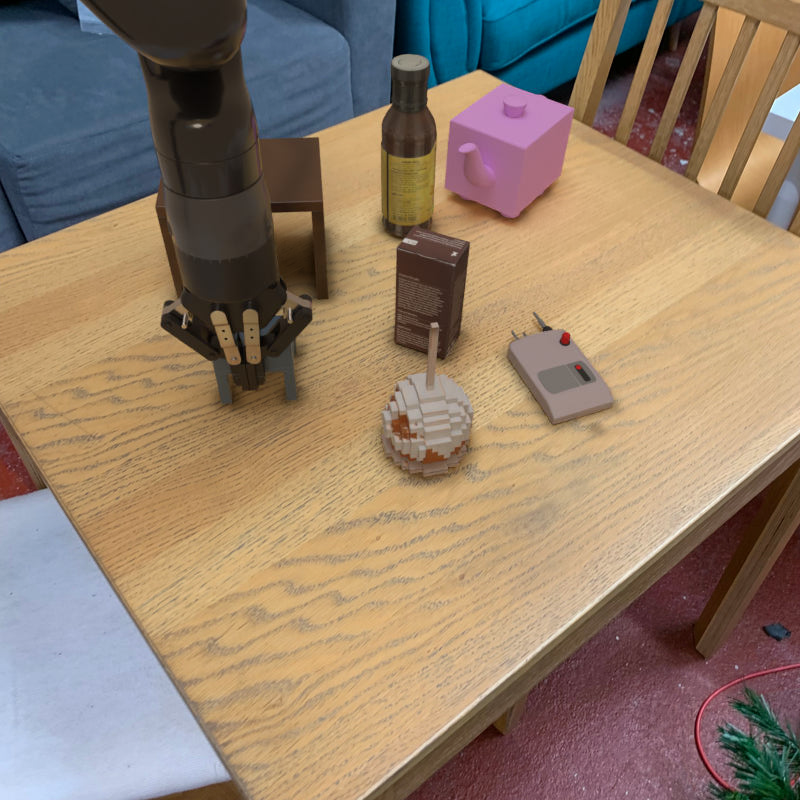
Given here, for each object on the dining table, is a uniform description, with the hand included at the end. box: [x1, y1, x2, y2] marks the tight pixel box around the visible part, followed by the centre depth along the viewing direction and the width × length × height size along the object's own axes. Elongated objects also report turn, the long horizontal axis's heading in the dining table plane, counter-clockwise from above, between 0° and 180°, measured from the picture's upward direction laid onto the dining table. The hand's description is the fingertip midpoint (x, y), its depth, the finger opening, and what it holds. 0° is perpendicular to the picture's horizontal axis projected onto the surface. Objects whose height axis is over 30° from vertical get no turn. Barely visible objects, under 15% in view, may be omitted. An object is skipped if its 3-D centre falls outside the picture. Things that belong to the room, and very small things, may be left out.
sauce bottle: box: [380, 53, 438, 239], centre depth 86 cm, size 6×6×20 cm
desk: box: [154, 136, 329, 300], centre depth 82 cm, size 16×12×12 cm
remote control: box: [506, 311, 615, 431], centre depth 76 cm, size 7×16×3 cm, turn 22°
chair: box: [211, 314, 298, 405], centre depth 73 cm, size 7×7×8 cm
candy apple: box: [380, 322, 475, 478], centre depth 65 cm, size 8×8×15 cm
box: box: [393, 226, 471, 360], centre depth 75 cm, size 6×4×12 cm
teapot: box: [443, 82, 576, 219], centre depth 93 cm, size 20×10×12 cm, turn 144°
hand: (250, 384), depth 70 cm, fingers closed
